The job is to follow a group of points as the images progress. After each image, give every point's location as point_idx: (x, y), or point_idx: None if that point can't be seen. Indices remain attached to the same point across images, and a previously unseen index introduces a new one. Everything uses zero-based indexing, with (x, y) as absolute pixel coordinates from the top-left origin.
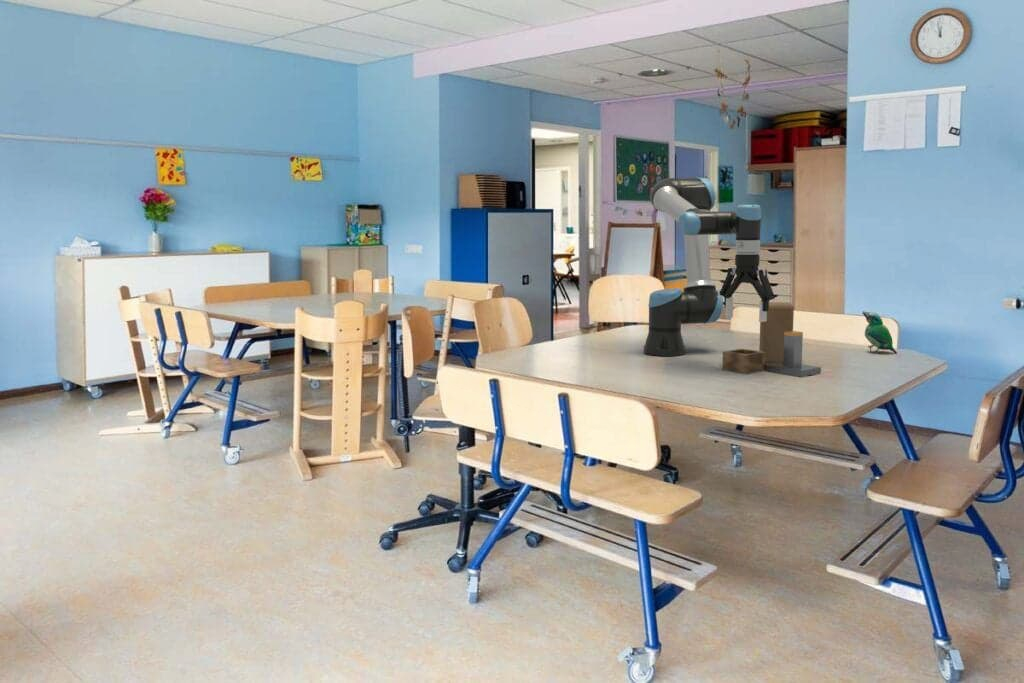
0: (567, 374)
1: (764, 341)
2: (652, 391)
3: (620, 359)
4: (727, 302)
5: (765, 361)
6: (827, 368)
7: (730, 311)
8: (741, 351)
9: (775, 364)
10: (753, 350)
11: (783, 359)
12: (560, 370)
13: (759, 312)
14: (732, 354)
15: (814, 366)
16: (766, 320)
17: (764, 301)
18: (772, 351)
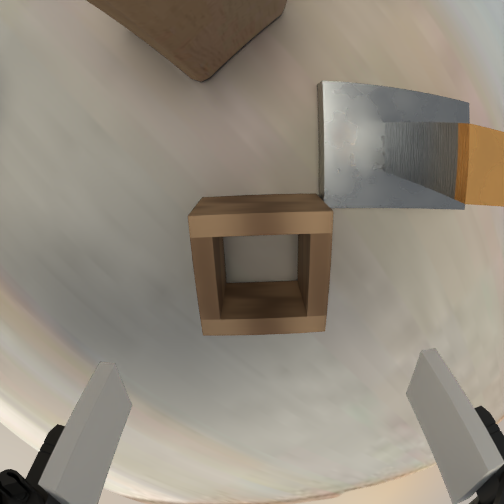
0: (119, 479)
1: (191, 59)
2: (298, 485)
3: (5, 361)
4: (100, 494)
5: (212, 74)
6: (413, 7)
7: (108, 416)
8: (214, 244)
9: (349, 170)
10: (263, 218)
11: (395, 175)
12: None
13: (428, 440)
14: (254, 330)
15: (452, 103)
16: (437, 352)
17: (488, 484)
18: (229, 44)
